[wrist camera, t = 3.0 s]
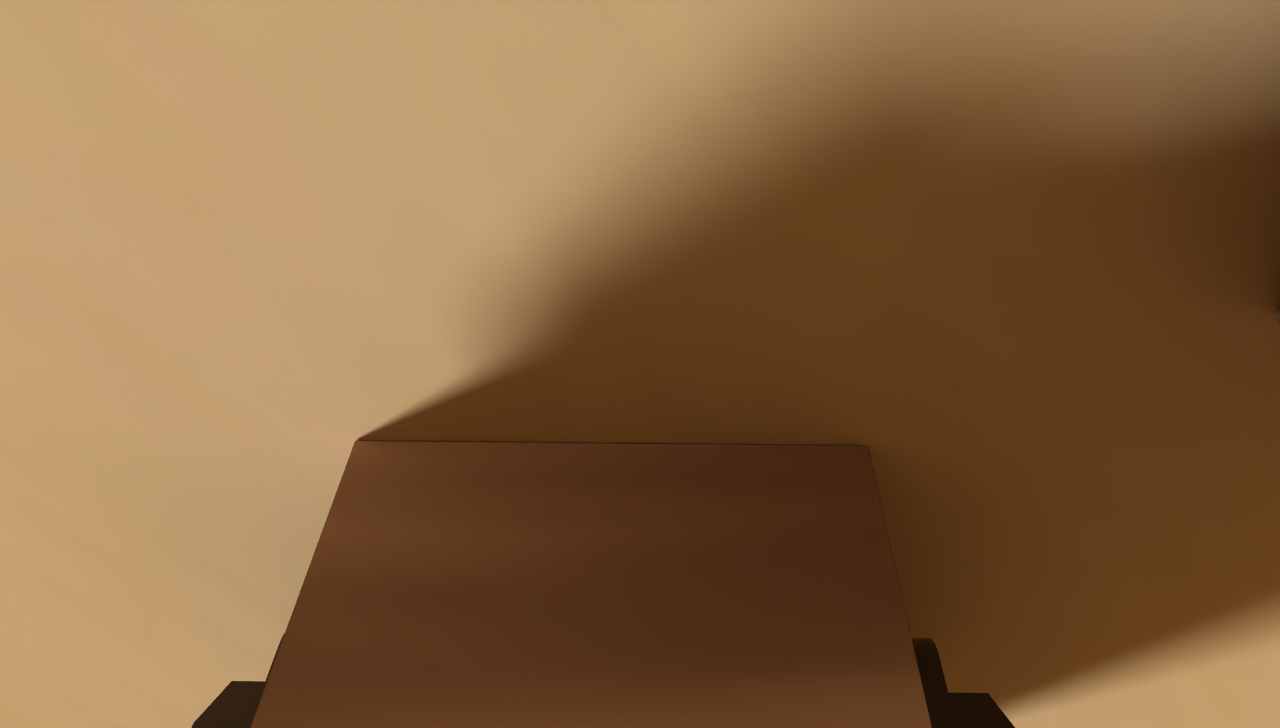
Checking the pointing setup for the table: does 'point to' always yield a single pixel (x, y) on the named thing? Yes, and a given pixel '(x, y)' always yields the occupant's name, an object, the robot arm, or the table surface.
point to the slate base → (1278, 316)
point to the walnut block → (599, 592)
